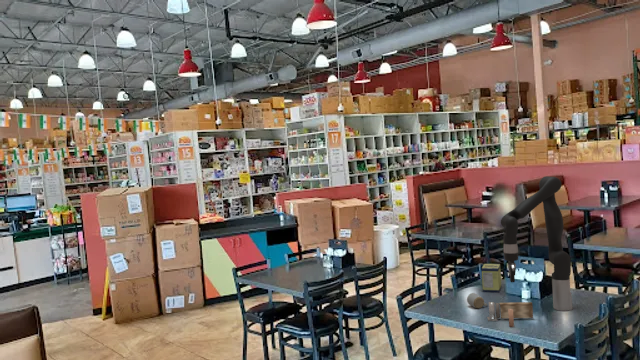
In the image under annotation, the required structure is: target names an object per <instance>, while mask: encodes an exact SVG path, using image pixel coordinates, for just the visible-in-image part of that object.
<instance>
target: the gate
mask: <svg viewBox="0 0 640 360" xmlns="http://www.w3.org/2000/svg"><path fill="white" fill-rule="evenodd" d="M494 304H495V317H496V318H497V319H500V318H501V319H509V315H508V309H513V317H514V319H534V309H533V302H530V301H526V302H520V301H518V302H494Z"/></svg>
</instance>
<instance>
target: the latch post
mask: <svg viewBox="0 0 640 360" xmlns="http://www.w3.org/2000/svg"><path fill="white" fill-rule="evenodd" d="M508 315H509V318H508V327H510V328H513V327H515V322H514V319H515V318H514V317H513V309H508Z"/></svg>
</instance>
